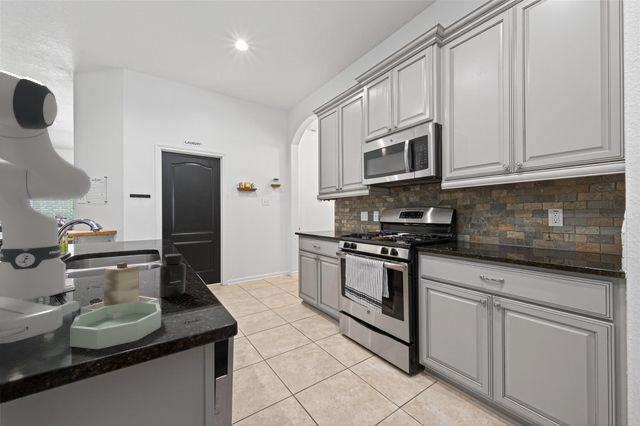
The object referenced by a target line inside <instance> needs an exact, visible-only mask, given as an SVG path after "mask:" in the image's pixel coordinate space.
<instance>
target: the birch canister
mask: <svg viewBox="0 0 640 426" xmlns="http://www.w3.org/2000/svg"><path fill="white" fill-rule="evenodd" d="M103 273H104V274H103V275H104V276H103V301H104V306H110V305H117V304H123V303H129V302H136V301H138V302H139V296H140V266H139V265H132V264H128V262H117V263H116V266H112V267H104V269H103Z"/></svg>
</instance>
